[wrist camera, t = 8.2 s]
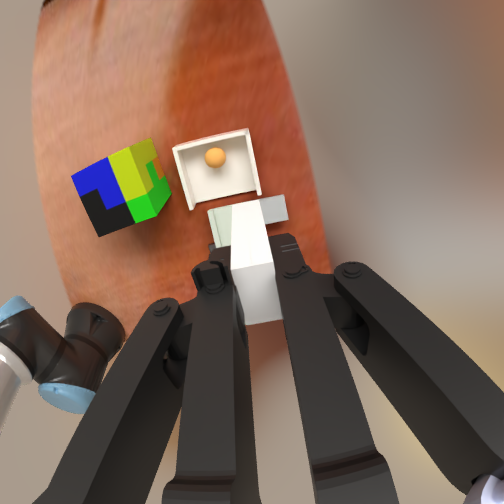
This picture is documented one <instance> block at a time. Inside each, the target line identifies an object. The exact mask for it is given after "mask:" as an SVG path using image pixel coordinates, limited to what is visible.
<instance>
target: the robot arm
mask: <svg viewBox="0 0 504 504" xmlns="http://www.w3.org/2000/svg"><path fill="white" fill-rule="evenodd" d="M191 275H192V277H193V280H194V283H195V285H196V288H197V291H198V292H197V297H195V298H194V299H192V300H190V301H188V302H185V303H182V304H180V305H179V303H178V301H177V300H175V299H174V298H163V299H160V300H157V301H156V302H154V303H153V304H151V305H150V306H149V307H148V308H147V310H146V311H145V313H144V315H143V316H142V318H141V319H140V321H139V322H138V324H137V326H136V327H135V329H134V330H133V332H132V334H131V335H130V337H129V338H128V340H127V342H126V343H125V345H124V347H123V348H122V350H121V351H120V353H119V355H118V356H117V358H116V360H115V361H114V363H113V365H112V367H111V368H110V370H109V372H108V373H107V375H106V377H105V378H104V380H103V382H102V379H103V376H104V373H105V370H106V367H107V365H108V362H109V361H110V360H111V359H112V358H113V357H114V355H115V354H116V353H117V352H118V351H119V350H120V349H121V347H122V345H123V342H124V339H125V332H124V329H123V327H122V325H121V323H120V322H119V320H118V319H117V318H116V317H115V316H114V315H113V314H112V313H110V312H109V311H108V310H106V309H104V308H103V307H101V306H98V305H96V304H92V303H78V304H76V305H75V306H73V307H72V309H71V311H70V312H69V314H68V316H67V325H66V330H65V335H64V338H63V337H62V336H61V335H60V334H59V333H58V332H57V331H56V330H55V329H54V328H53V327H52V326H51V325H50V324H48V322H47V321H46V320H44V319H43V317H42V316H41V315H40V314H39V313H38V312H37V311H36V310H35V308H34V307H33V306H31V305H30V304H29V303H28V302H27V301H26V300H25V299H24V298H23V297H22V296H14V297H13V298H11V299H10V300H9V301H8V302H7V303H5V304H4V305H3V306H2V307H1V308H0V434H1V432H2V429H3V426H4V424H5V421H6V418H7V416H8V414H9V411H10V409H11V406H12V404H13V401H14V399H15V397H16V395H17V393H18V390H19V388H20V386H21V385H27V384H30V383H31V382H32V380H33V379H34V380H35V381H36V382H37V383H38V384H39V387H38V388H39V390H38V391H39V394H40V396H42V398H43V399H44V400H46V401H47V402H48V403H50V404H51V405H53V406H55V407H57V408H59V409H61V410H64V411H67V412H71V413H75V414H84V416H83V418H82V420H81V421H80V423H79V426H78V427H77V429H76V431H75V433H74V435H73V437H72V439H71V441H70V443H69V445H68V447H67V449H66V451H65V453H64V455H63V457H62V459H61V461H60V463H59V465H58V467H57V469H56V471H55V473H54V476H53V478H52V480H51V482H50V484H49V486H48V488H47V489H46V490H45V491H44V492H43V493H42V494H41V495H40V496H39V497H38V498H37V499H36V500H35V501H34V502H33V503H32V504H145V502H146V500H147V497H148V494H149V491H150V489H151V486H152V483H153V481H154V478H155V475H156V473H157V470H158V467H159V465H160V462H161V459H162V457H163V454H164V451H165V449H166V446H167V443H168V441H169V438H170V435H171V433H172V430H173V428H174V425H175V422H176V419H177V417H178V414H179V411H180V409H181V407H182V409H181V419H180V429H179V439H178V451H177V463H176V474H175V476H174V478H173V480H171V481H170V482H168V483H167V484H166V486H165V488H164V490H163V495H162V504H262V503H261V500H260V496H259V487H258V474H257V461H256V449H255V436H254V435H255V434H254V421H253V407H252V392H251V378H250V363H249V347H248V334H247V331H246V327H245V321H246V325H252V324H257V323H262V322H268V321H273V320H278V319H283V323H284V328H285V335H286V340H287V344H288V349H289V354H290V360H291V365H292V370H293V376H294V381H295V386H296V392H297V397H298V402H299V408H300V414H301V419H302V424H303V430H304V436H305V442H306V448H307V453H308V459H309V465H310V471H311V477H312V483H313V489H314V496H315V503H316V504H399V501H398V497H397V493H396V490H395V486H394V483H393V479H392V476H391V472H390V469H389V466H388V464H387V461H386V460H385V458H384V457H383V455H381V454H380V453H379V452H378V451H377V449H376V447H375V444H374V441H373V438H372V435H371V431H370V428H369V425H368V422H367V419H366V416H365V413H364V410H363V407H362V403H361V400H360V398H359V394H358V392H357V389H356V386H355V383H354V380H353V377H352V374H351V371H350V369H349V366H348V363H347V360H346V357H345V355H344V352H343V349H342V347H341V344H340V341H339V338H338V336H337V333H338V334H339V335H340V337H341V338H342V340H343V341H344V342H345V343H346V345H347V346H348V347H349V349H350V350H351V351H352V352H353V354H354V355H355V356H356V358H357V359H358V360H359V362H360V363H361V364H362V366H363V367H364V368H365V370H366V371H367V372H368V373H369V375H370V376H371V377H372V379H373V380H374V381H375V382H376V384H377V385H378V387H379V388H380V389H381V391H382V392H383V393H384V394H385V396H386V397H387V399H388V400H389V401H390V403H391V404H392V405H393V406H394V408H395V409H396V411H397V412H398V413H399V415H400V416H401V417H402V419H403V420H404V421H405V423H406V424H407V425H408V427H409V428H410V429H411V431H412V432H413V433H414V435H415V436H416V437H417V439H418V440H419V442H420V443H421V444H422V446H423V447H424V448H425V450H426V451H427V453H428V454H429V455H430V457H431V458H432V459H433V461H434V462H435V464H436V465H437V466H438V468H439V469H440V471H441V472H442V473H443V474H444V476H445V477H446V478H447V479H448V480H449V482H451V484H452V485H454V486H455V487H456V488H457V489H458V490H459V491H461V492H462V493H464V494H465V495H467V496H466V498H465V501H464V503H463V504H504V393H503V391H502V390H501V389H500V388H499V387H498V386H497V385H496V384H495V383H494V382H493V381H492V380H491V379H490V377H489V376H487V374H486V373H485V372H484V371H483V370H482V369H481V368H480V367H479V366H478V365H477V364H476V363H475V362H474V361H473V360H472V359H471V358H469V356H468V355H467V354H466V353H465V352H464V351H463V350H462V349H461V348H459V346H457V345H456V344H455V343H454V342H453V341H452V340H451V339H450V338H449V337H448V336H447V335H446V334H445V333H444V332H443V331H441V330H440V329H439V328H438V327H437V326H436V325H435V324H434V323H433V322H432V321H431V320H429V318H427V317H426V316H425V315H424V314H423V313H422V312H421V311H420V310H418V309H417V308H416V307H415V306H414V305H413V304H412V303H411V302H409V301H408V300H407V299H406V298H405V297H404V296H403V295H401V294H400V293H399V292H398V291H397V290H396V289H394V288H393V287H392V286H391V285H390V284H388V283H387V282H386V281H385V280H384V279H382V278H381V277H380V276H379V275H378V274H377V273H375V272H374V271H373V270H372V269H370V268H369V267H368V266H367V265H365V264H363V263H359V262H346V263H342V264H341V265H339V266H337V267H336V268H335V270H334V274H320V273H315V272H313V271H312V270H311V268H310V267H309V266H308V265H306V264H305V261H304V259H303V256H302V254H301V251H300V249H299V246H298V244H297V242H296V239H295V237H294V236H292V235H291V234H289V233H285V234H280V235H275V236H270V237H268V236H267V232H266V228H265V223H264V219H263V215H262V210H261V206H260V202H259V200H254V201H249V202H245V203H240V204H235V205H232V232H231V245H229V246H224V247H219V248H214V249H213V251H212V252H211V253H210V254H209V259H208V260H207V261H204V262H202V263H200V264H198V265H197V266H195V267H194V268H193V270H192V271H191ZM335 329H336V330H335ZM336 332H337V333H336ZM101 382H102V384H101Z"/></svg>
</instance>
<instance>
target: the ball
mask: <svg viewBox="0 0 504 504" xmlns="http://www.w3.org/2000/svg"><path fill="white" fill-rule="evenodd" d="M225 161H226V154H225V152H224V151H223V150H222V149H221V148H218V147H213V148H210V149H209V150H208V151H207V152H206V154H205V162H206V164H207V165H208V166H209V167H211V168H219V167H221V166H223V164H224V163H225Z"/></svg>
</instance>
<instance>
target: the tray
mask: <svg viewBox="0 0 504 504" xmlns="http://www.w3.org/2000/svg"><path fill="white" fill-rule="evenodd" d="M213 147H218V148H221V149H222V150H223V151H224V152H225V154H226V161H225V163H224V164H223V166H221V167H219V168H211V167H209V166H208V165H207V164H206V162H205V154H206V152H207V151H208V150H209V149H210V148H213ZM172 149H173V153H174V157H175V161H176V164H177V168H178V171H179V175H180V179H181V182H182V186H183V189H184V193H185V196H186V199H187V203H188V206H189V210H193V209H194V207H195V204H196V203H198V202H202V201H206V200H211V199H215V198H220V197H224V196H229V195H234V194H238V193H243V192H248V191H253V190H257V194H258V195H262V193H261V188H260V183H259V178H258V173H257V168H256V163H255V158H254V153H253V148H252V144H251V139H250V134H249V130H248V128H246V129H241V130H236V131H231V132H226V133H222V134H218V135H213V136H209V137H205V138H201V139H197V140H193V141H189V142H186V143H182V144H178V145H176V146H175V147H173V148H172Z"/></svg>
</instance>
